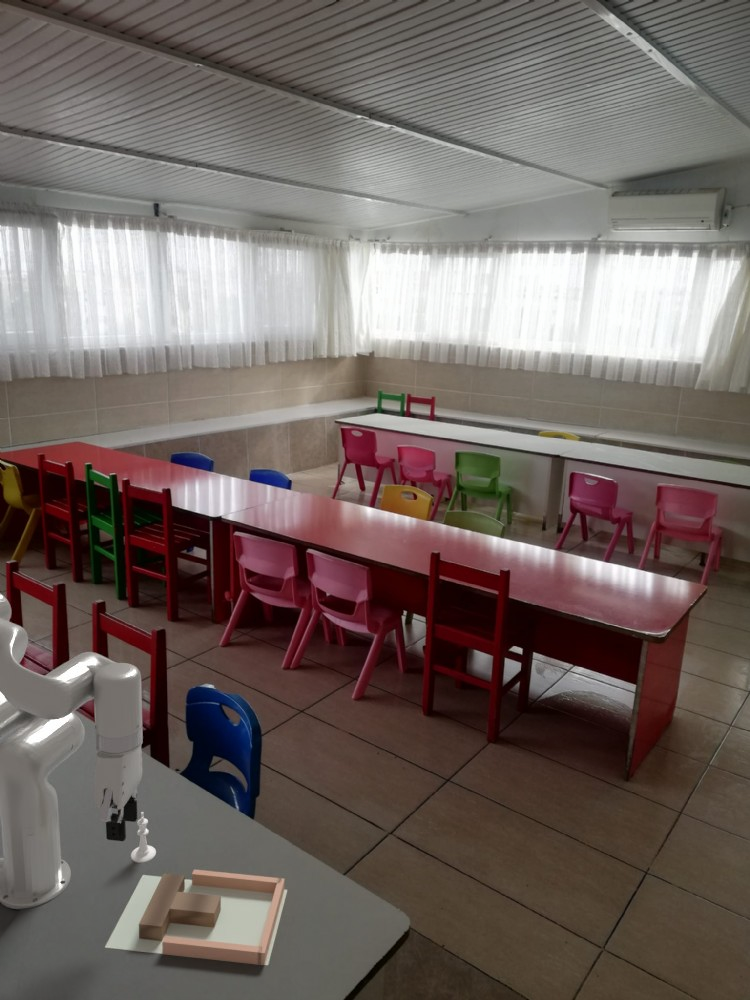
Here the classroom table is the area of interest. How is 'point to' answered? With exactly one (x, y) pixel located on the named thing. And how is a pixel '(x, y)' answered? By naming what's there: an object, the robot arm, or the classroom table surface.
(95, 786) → the robot arm
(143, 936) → the t block
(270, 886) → the pocket
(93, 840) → the classroom table surface
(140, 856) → the chess piece
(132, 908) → the mat
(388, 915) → the classroom table surface
